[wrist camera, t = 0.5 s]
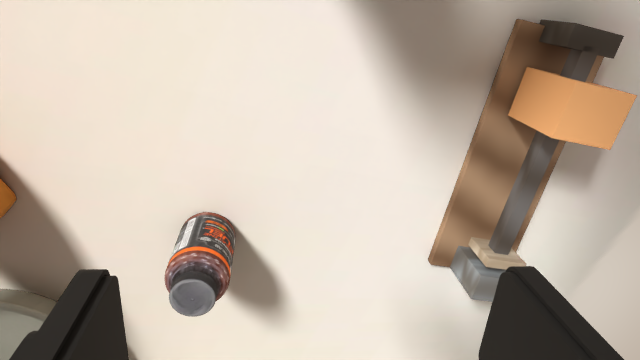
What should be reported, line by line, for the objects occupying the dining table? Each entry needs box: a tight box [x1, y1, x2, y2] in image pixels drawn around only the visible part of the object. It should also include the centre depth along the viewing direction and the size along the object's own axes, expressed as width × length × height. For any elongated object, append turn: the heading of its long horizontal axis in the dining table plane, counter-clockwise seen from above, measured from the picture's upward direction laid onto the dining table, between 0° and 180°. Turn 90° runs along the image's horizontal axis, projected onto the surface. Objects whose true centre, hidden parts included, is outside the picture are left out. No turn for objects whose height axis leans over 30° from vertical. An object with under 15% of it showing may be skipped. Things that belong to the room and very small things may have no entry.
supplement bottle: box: [165, 212, 235, 316], centre depth 43 cm, size 6×6×11 cm
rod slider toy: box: [428, 19, 624, 302], centre depth 46 cm, size 28×10×7 cm, turn 167°
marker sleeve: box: [508, 67, 637, 150], centre depth 41 cm, size 5×6×8 cm
